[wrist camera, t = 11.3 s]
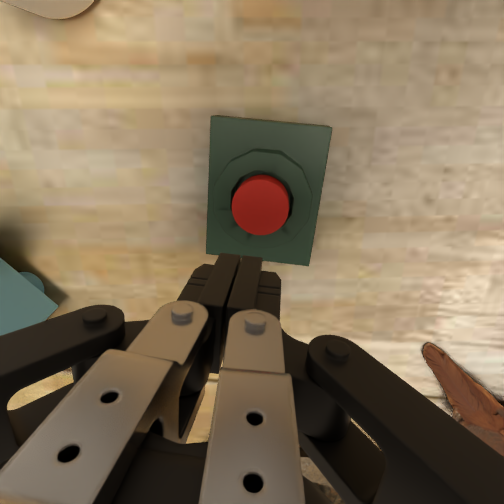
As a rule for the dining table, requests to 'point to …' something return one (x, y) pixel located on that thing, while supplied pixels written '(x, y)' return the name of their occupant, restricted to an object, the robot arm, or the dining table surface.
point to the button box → (273, 164)
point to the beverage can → (52, 7)
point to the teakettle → (21, 300)
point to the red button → (260, 205)
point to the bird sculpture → (468, 399)
